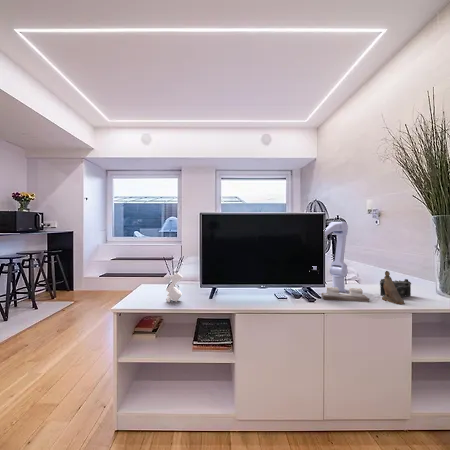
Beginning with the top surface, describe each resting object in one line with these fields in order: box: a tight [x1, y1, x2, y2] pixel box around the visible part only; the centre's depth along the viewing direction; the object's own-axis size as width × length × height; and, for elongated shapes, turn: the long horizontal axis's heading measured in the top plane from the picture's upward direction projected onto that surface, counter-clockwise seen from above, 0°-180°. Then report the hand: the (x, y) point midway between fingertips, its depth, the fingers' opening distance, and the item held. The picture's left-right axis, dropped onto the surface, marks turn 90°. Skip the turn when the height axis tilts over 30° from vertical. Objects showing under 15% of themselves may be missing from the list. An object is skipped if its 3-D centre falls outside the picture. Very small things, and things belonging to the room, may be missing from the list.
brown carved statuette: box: [381, 270, 405, 305], centre depth 165 cm, size 12×6×18 cm, turn 13°
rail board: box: [321, 286, 370, 302], centre depth 171 cm, size 10×24×6 cm, turn 78°
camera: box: [379, 278, 412, 298], centre depth 173 cm, size 18×9×10 cm, turn 86°
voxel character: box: [165, 272, 184, 303], centre depth 167 cm, size 7×12×15 cm
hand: (313, 280), depth 177 cm, fingers closed on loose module, 5 cm apart
